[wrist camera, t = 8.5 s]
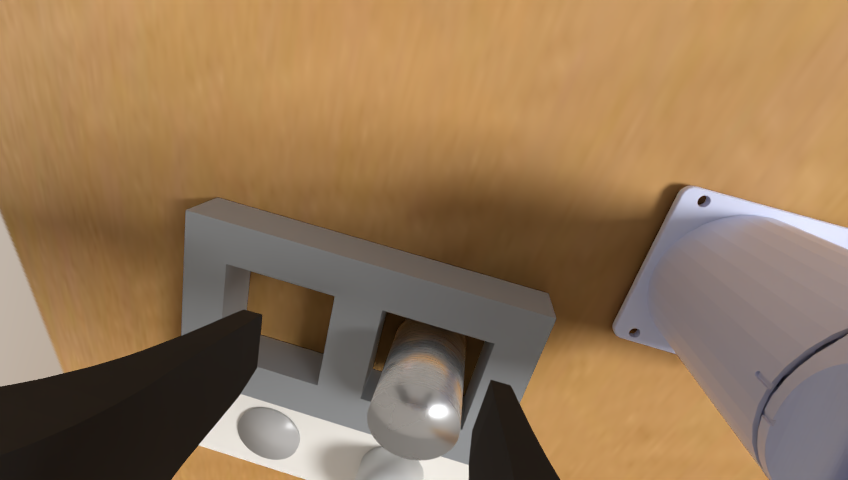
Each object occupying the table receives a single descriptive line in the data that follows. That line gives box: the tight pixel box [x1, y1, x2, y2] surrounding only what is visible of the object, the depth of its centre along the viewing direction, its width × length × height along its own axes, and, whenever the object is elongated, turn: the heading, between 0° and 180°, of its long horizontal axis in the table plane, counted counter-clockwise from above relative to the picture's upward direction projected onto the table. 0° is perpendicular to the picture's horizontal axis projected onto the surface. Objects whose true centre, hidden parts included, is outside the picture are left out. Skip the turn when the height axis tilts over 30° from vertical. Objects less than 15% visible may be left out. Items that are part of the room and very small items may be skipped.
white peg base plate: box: [199, 394, 469, 480], centre depth 24 cm, size 18×6×4 cm, turn 76°
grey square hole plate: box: [181, 198, 556, 465], centre depth 22 cm, size 18×10×2 cm, turn 76°
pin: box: [367, 318, 466, 460], centre depth 20 cm, size 4×4×6 cm
